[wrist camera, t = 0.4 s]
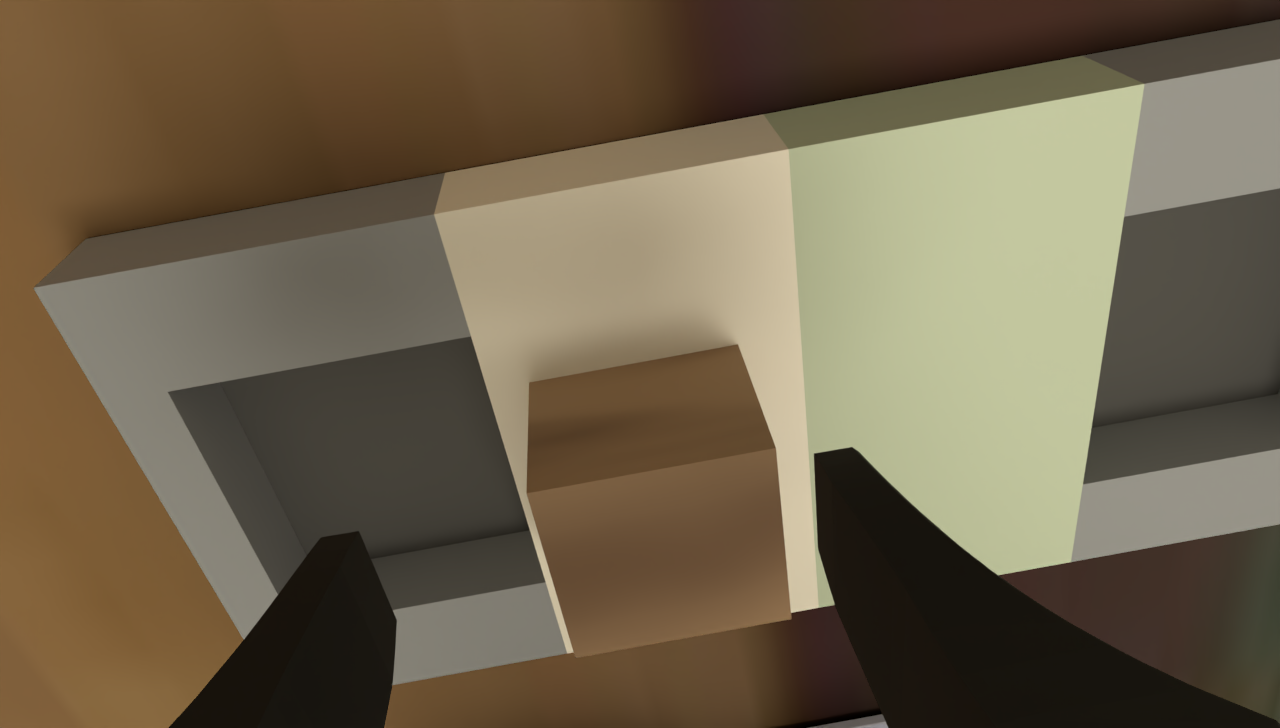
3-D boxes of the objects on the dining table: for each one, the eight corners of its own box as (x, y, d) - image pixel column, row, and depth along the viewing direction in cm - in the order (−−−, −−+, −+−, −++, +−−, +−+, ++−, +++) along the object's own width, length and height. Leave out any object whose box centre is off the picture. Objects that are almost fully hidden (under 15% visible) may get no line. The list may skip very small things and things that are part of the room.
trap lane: (1295, 456, 28) (1357, 509, 26) (302, 637, 28) (282, 704, 26) (1445, -11, 20) (1549, 9, 18) (85, 238, 20) (33, 288, 18)
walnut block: (755, 502, 23) (791, 619, 20) (570, 536, 23) (575, 658, 20) (738, 344, 21) (775, 447, 17) (529, 382, 21) (526, 493, 17)
